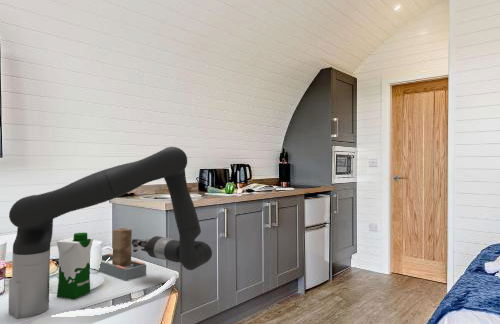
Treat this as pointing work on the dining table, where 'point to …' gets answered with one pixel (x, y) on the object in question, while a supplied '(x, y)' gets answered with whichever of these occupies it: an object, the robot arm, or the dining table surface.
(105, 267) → the tray
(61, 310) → the dining table surface
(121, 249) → the walnut block
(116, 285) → the dining table surface
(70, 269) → the milk carton
